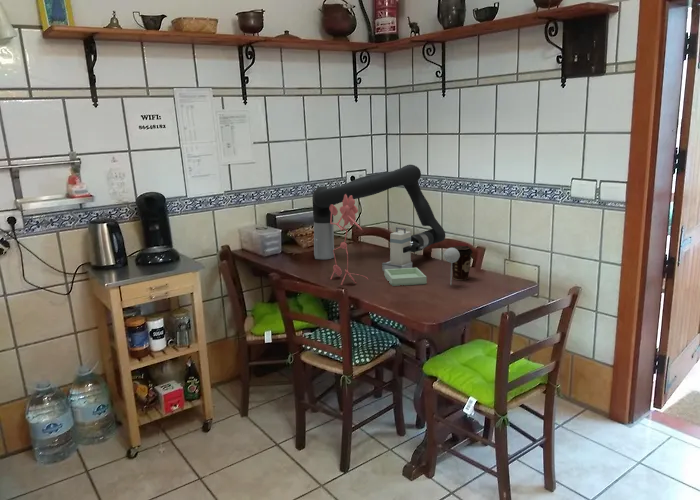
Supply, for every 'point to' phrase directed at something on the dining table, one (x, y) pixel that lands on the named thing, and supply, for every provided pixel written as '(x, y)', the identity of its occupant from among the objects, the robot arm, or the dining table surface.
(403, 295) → the dining table surface
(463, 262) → the coffee cup
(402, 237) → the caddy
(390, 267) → the bay
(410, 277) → the tray
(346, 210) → the figurine
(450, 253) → the lollipop
